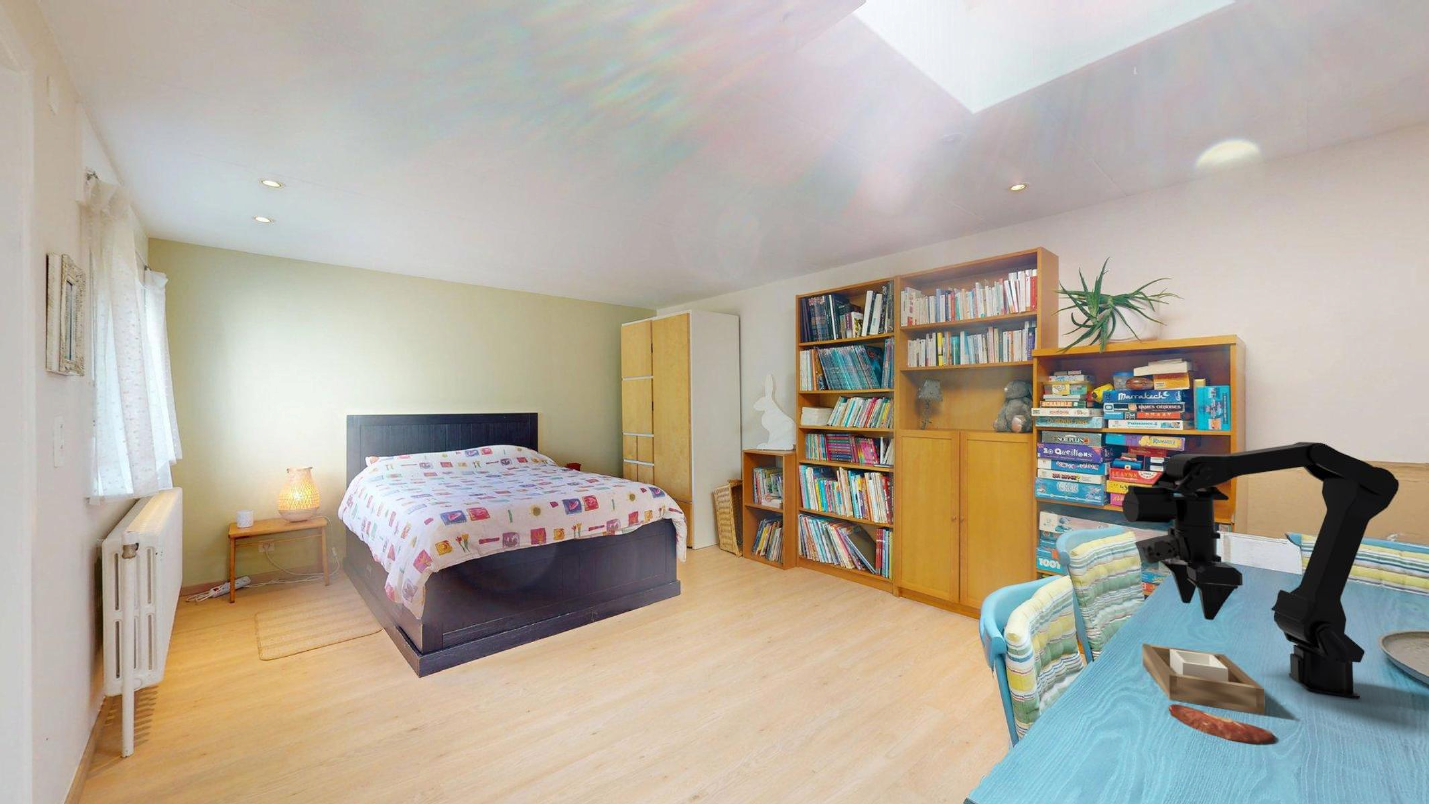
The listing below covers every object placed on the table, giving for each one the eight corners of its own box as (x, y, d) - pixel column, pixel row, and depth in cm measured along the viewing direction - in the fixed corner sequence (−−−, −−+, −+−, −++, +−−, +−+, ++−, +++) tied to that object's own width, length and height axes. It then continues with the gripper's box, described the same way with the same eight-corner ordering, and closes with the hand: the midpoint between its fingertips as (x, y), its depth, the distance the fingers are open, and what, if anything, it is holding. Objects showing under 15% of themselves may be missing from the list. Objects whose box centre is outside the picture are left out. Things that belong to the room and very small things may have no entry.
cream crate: (1212, 677, 97) (1212, 654, 97) (1228, 693, 91) (1227, 668, 91) (1170, 671, 99) (1169, 649, 99) (1183, 686, 94) (1182, 662, 94)
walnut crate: (1224, 677, 99) (1224, 654, 99) (1265, 715, 86) (1264, 689, 87) (1142, 665, 104) (1142, 643, 104) (1169, 699, 91) (1169, 674, 91)
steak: (1172, 694, 90) (1277, 724, 82) (1173, 705, 90) (1277, 737, 81) (1163, 710, 85) (1273, 745, 76) (1163, 722, 85) (1273, 758, 76)
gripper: (1123, 513, 112) (1126, 591, 111) (1159, 530, 95) (1162, 623, 94) (1192, 516, 108) (1195, 597, 107) (1242, 535, 90) (1246, 631, 90)
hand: (1196, 610), depth 100 cm, fingers open, 9 cm apart
